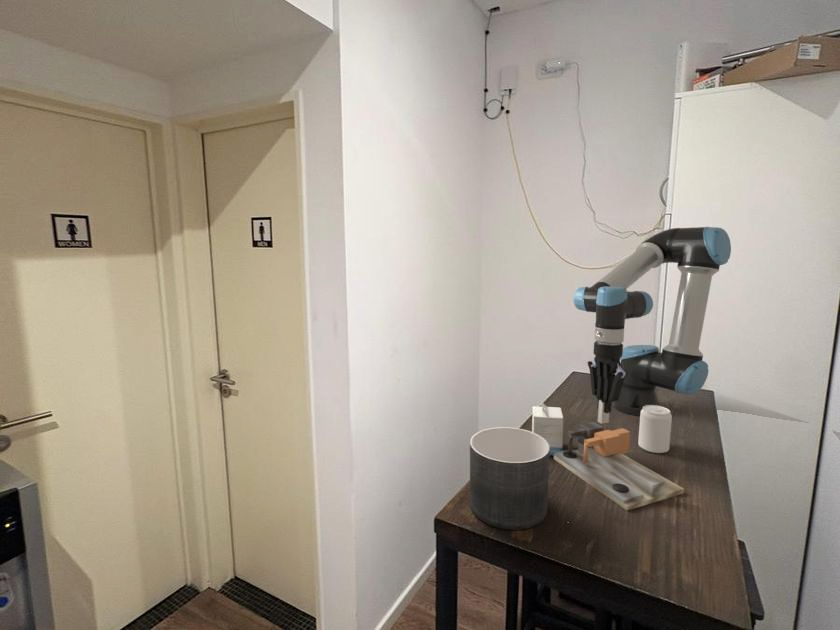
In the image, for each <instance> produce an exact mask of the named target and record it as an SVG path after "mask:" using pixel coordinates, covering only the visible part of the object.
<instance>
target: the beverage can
mask: <svg viewBox="0 0 840 630" xmlns="http://www.w3.org/2000/svg"><path fill="white" fill-rule="evenodd" d="M672 419H673V416H672V413H671V410H670V409H669V408H667V407H664V406H662V405H660V406H656V405H646V406H644V407H643V409H642V410H641V413H640V416H639V428H638V439H637V440H638V443H637V444H638V446H639V447H640V448H641V449H642V450H644V451H647V452H650V453H653V454H654V453H655V454H663V453H667V452H669V450H670V444H671V434H672V433H671V431H672Z"/></svg>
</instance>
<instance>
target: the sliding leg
mask: <svg viewBox="0 0 840 630" xmlns="http://www.w3.org/2000/svg"><path fill="white" fill-rule="evenodd" d="M630 440H631V431H629V430H628V429H626V428H623V427H621V428H617V429H613V430H610V429H606V430H603V431H601V432H596V433H595V434H594V438H590V439H585V440H584V459H583V462H584V463H587V460H588V447H592V446H594V451H596V452H598V453H599V454H601V455H603V456H604V457H605V456H610V455H614V454H618V455H620V454H623V455H624V454H627V453H630Z"/></svg>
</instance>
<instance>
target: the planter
mask: <svg viewBox="0 0 840 630" xmlns="http://www.w3.org/2000/svg"><path fill="white" fill-rule="evenodd" d="M550 456H551V455H550V446H549V444H548V442H547V441H546V440H545V439H544V438H543V437H541V436H539V435H538V434H535V433H533V432H532V431H531V430H528V429H523V428H519V427H508V426H503V427H502V426H499V427H498V426H497V427H490V428H485V429H482V430H480V431H478V432H476V433H474V434H473V435H472V436H471V438H470V440H469V507H470V510H471V512H472V513H473V514H474V516H475V517H476V518H477V519H479V520H480V521H482V522H483V523H485V524H487V525H488V526H492V527H495V528H497V529H503V530H510V531H520V530H521V531H523V530H527V529H531V528H534V527H536V526H538V525H540V524H541V523H542V522H543V521H544V520H545V519H546V518H547V515H548V494H549V493H548V491H549V479H550V478H549V477H550V475H549V473H550Z"/></svg>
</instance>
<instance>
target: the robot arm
mask: <svg viewBox="0 0 840 630" xmlns="http://www.w3.org/2000/svg"><path fill="white" fill-rule="evenodd" d="M731 245H732V243H731V239H730V237H729V234H728V233H727V231H726V230H725V229H723V228H722V227H716V226H715V227H713V226H712V227H711V226H704V227H702V226H701V227H700V226H699V227H673V228H669V229H665V230H662V231H660V232H658V233H656V234H653V235H652V236H650V237H649V238H647V239H645V240H644V241H643V242H641V243H640V244H639V245H638V246H637V247H636V249H635V252H633V253H632V254H630V256H629V257H627V258H626V259H625V260H623V261H622V262H621V263H619V264H618V265H617V266H616V267H614V268H613V269H612V270H610V272H608V273H607V274H606V275H604V276H603V277H602V278H601V279H599V280H598V281H596V282H595V283H594V284H593V285H592V286H581V287H578V288H577V289H576V290H575V292H574V294H573V304H574V307H575V308H576V309H578V310H580V311H582V312H583V311H584V312H587V313H595V326H594V340H595V341H594V343H593V351H592V352H593V355H594V358H593V360H590V361H587V366H588V369H589V377H590V385H591V394H592V396H595V397H596V399H597V405H596V406H597V407H596V408H597V423H599V424H607V423H610V413H612V405H613V407H614V409H615V410H617V411H618V412H619V411H620V412H621V413H624V414H627V415H631V416H632V415H633V416H639V417H640V413H641V410H642V409H643V407H644V406H646V405H656V406H661V405H660V403H659V400H658V395H657V391H656V387H657V388H661V389H665V390H669V391H672V392H675V393H677V394H683V395H689V396H691V395H694V394H696V393H698V392H699V391H700V390H701V389H702V388H703V386H704V385H705V383H706V381H707V379H708V375H709V364H708V363H707V362H706V361H704V360H703V358H704V357H703V356H704V354H703V353H702V352H701V350H700V344H701V337H702V331H703V328H704V323H705V322H704V321H705V318H706V317H705V316H706V310H707V307H708V300H709V295H710V290H711V285H712V279H713V278H712V277H713V276H714V275H716V273H718V272H720V268H721V267H720V266H723V265H725V264H727V263H728V262H729V259H730V257H731V254H732V253H731V252H732V246H731ZM669 263H675V264H677V269H678V271H679V272H680V273H681V274H680V280H679V285H678V291H677V296H676V303H675V307H674V314H673V320H672V325H671V331H670V333H669V334H670V335H669V341H668V344H667V345H665V346H664V347H662V352H660V348H659V347H658V346H656V345H652V344H635V345H634V344H633V345H628V346H625V347H624V344H623V343H624V340H625V323H626V320H629V319H635V318H641V317H642V318H643V317H645V316H647V315H649V314H650V313H651V311H652V310H653V306H654V301H653V297H652V296H651V295H650V294H649V293H648V292H646V291H642V290H634V291H628V289H629V288H630V287H631V286H632V285H633V284H635V283H636V282H637V281H638V280H639V279H640V278H642V277H643V276H644V275H645V274H647V273H648V272H649V271H650V270H652V269H656V268H658V267H660V266H661V265H662V264H669Z"/></svg>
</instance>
